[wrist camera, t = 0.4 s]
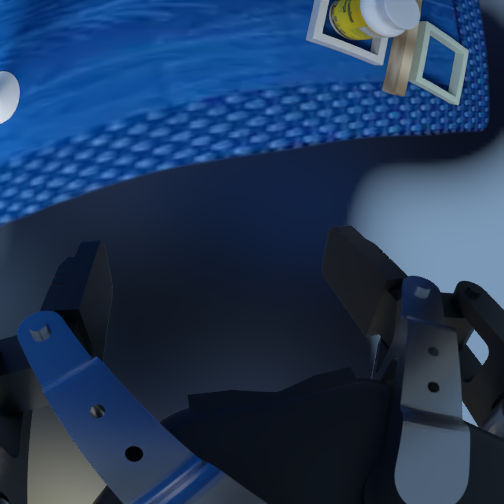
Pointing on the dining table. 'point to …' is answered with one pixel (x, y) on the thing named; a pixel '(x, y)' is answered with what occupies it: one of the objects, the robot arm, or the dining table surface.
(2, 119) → the champagne flute
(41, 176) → the dining table surface
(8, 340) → the robot arm
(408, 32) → the edge strip
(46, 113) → the dining table surface
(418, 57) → the keeper
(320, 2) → the keeper
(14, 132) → the dining table surface
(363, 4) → the pill bottle
